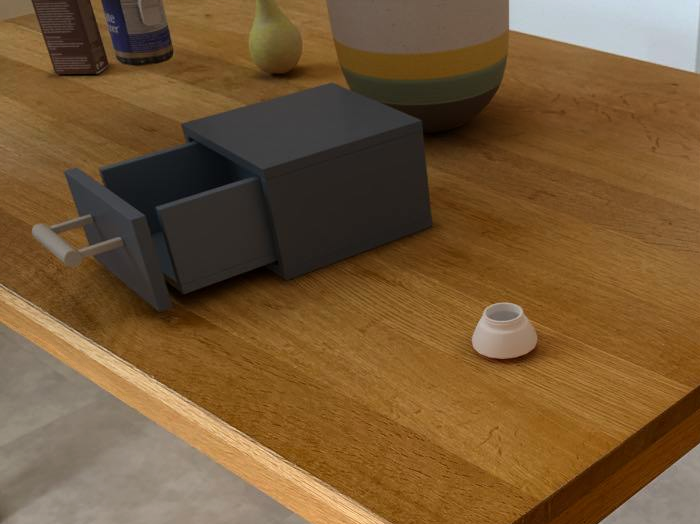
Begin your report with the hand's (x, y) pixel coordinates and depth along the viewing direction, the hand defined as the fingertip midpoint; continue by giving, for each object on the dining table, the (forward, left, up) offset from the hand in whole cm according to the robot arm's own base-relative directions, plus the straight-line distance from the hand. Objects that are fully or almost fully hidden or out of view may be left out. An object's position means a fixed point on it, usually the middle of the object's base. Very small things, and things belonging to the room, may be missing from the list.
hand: (136, 17), depth 108 cm
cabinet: (-1, -34, -12) cm, 36 cm away
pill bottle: (0, 0, -4) cm, 4 cm away
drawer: (-15, -34, -11) cm, 39 cm away
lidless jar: (-2, -63, -12) cm, 64 cm away
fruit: (+20, +10, -13) cm, 26 cm away
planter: (+23, -19, -12) cm, 33 cm away
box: (+2, +31, -12) cm, 33 cm away
